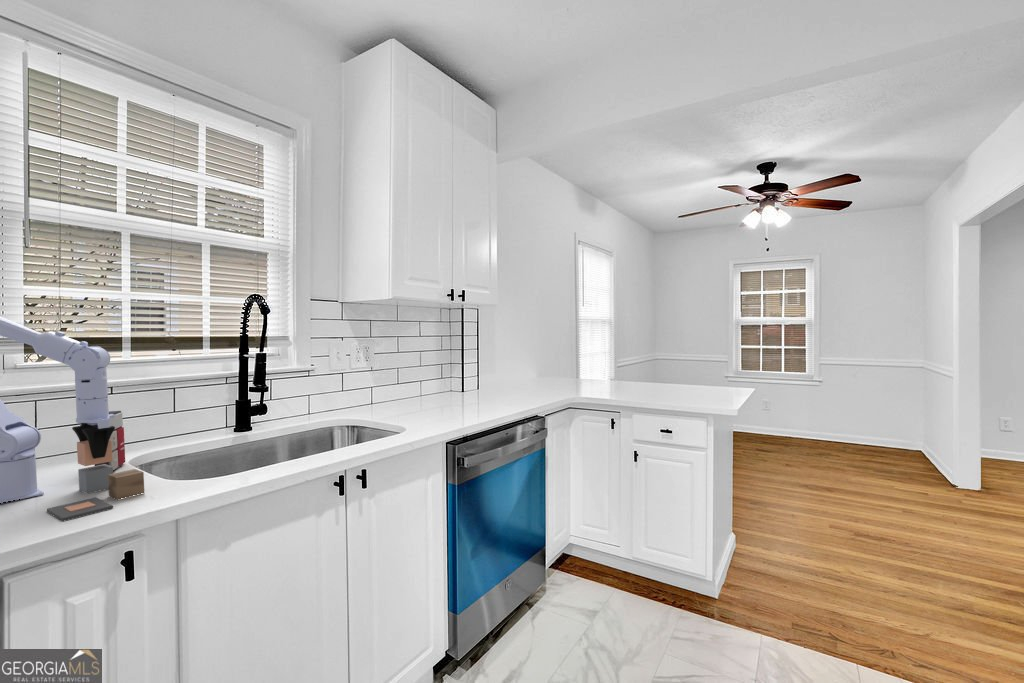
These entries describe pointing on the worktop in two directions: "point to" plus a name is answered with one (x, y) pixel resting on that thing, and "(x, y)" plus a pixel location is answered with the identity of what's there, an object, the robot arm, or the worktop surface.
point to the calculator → (116, 441)
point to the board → (79, 508)
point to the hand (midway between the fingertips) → (94, 456)
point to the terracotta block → (86, 456)
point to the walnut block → (126, 483)
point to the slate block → (94, 478)
